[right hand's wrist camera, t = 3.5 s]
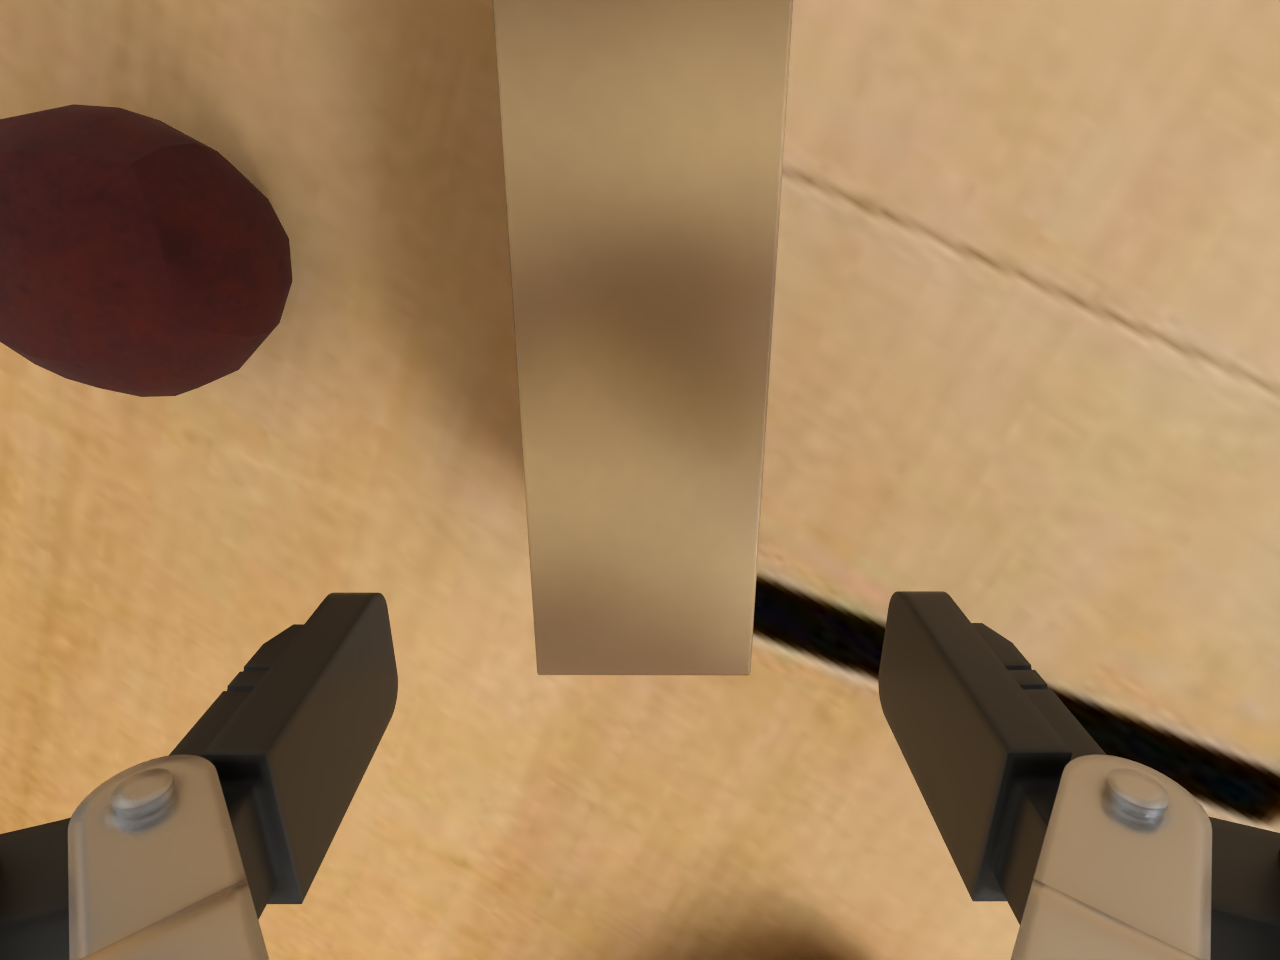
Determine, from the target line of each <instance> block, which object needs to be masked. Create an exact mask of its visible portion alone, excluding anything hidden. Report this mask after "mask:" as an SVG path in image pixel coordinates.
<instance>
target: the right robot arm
mask: <svg viewBox="0 0 1280 960" xmlns="http://www.w3.org/2000/svg"><path fill="white" fill-rule="evenodd" d="M397 691H398V676H397V669H396V662H395V655H394V649H393V642H392V635H391V629H390V622H389V615H388V609H387V604H386V600H385V598H384V596H383V595H382V594H381V593H331V594H329V595H328V596H327V597H326V598H325V599H324V600H323V602H322V603H321V604H320V605H319V607H318V608H317V609H316V610H315V612H314V613H313V614H312V616H311V617H310V618H309V619H308V621H307V622H306V623H305V624H304V625H292V626H291V627H289V628H287V629H286V630H284V631H283V632H281V633H280V634H278V635H277V636H275V637H274V638H272V639H271V640H269V641H267V642H266V643H264V644H263V645H262V646H261V648H260V649H259V650H258V651H257V652H256V653H255V655H254V656H253V657H252V658H251V659H250V661H249V662H248V663H247V664H246V665H245V666H244V671H243V672H239V673H238V675H237V676H236V677H235V678H234V679H233V681H232V682H231V683H230V684H229V685H228V689H227V691H223V692H222V693H221V695H220V696H219V697H218V698H217V699H216V701H215V702H214V703H213V704H212V705H211V706H210V708H209V709H208V710H207V711H206V712H205V713H204V715H203V716H202V717H201V718H200V719H199V721H198V722H197V723H196V724H195V725H194V726H193V728H192V729H191V730H190V731H189V732H188V734H187V735H186V736H185V737H184V738H183V739H182V741H181V742H180V743H179V744H178V745H177V746H176V748H175V749H174V750H173V751H172V752H171V754H170V755H169V756H164V757H160V758H156V759H152V760H149V761H146V762H143V763H140V764H138V765H135V766H133V767H131V768H128V769H126V770H124V771H122V772H120V773H119V774H117V775H115V776H113V777H112V778H110V779H109V780H107V781H105V782H104V783H103V784H101V785H100V786H99V787H97V788H96V789H95V790H94V791H92V792H91V793H90V794H89V795H88V796H87V797H86V798H85V799H84V800H83V801H82V802H81V803H80V805H79V806H78V807H77V809H76V810H75V812H74V813H73V815H72V817H71V818H68V819H64V820H60V821H56V822H52V823H47V824H43V825H39V826H34V827H30V828H26V829H21V830H17V831H13V832H8V833H4V834H0V960H269V957H268V953H267V950H266V946H265V943H264V939H263V935H262V932H261V928H260V925H259V921H258V919H259V918H260V916H261V914H262V912H263V910H264V908H265V906H266V904H302V902H303V900H304V898H305V896H306V894H307V892H308V890H309V888H310V886H311V884H312V881H313V879H314V877H315V875H316V873H317V871H318V869H319V867H320V865H321V863H322V861H323V859H324V857H325V854H326V852H327V850H328V848H329V846H330V844H331V842H332V840H333V838H334V836H335V834H336V832H337V830H338V827H339V825H340V823H341V821H342V819H343V817H344V815H345V813H346V811H347V809H348V807H349V805H350V803H351V800H352V798H353V796H354V794H355V792H356V790H357V788H358V786H359V784H360V782H361V780H362V778H363V775H364V773H365V771H366V769H367V767H368V765H369V763H370V761H371V759H372V757H373V755H374V753H375V751H376V748H377V746H378V744H379V742H380V740H381V738H382V736H383V734H384V732H385V730H386V728H387V726H388V724H389V721H390V719H391V717H392V715H393V712H394V709H395V705H396V699H397ZM879 695H880V701H881V706H882V709H883V713H884V715H885V717H886V719H887V722H888V724H889V726H890V728H891V730H892V732H893V734H894V736H895V738H896V740H897V743H898V745H899V747H900V749H901V751H902V753H903V755H904V757H905V759H906V762H907V764H908V766H909V768H910V770H911V772H912V774H913V776H914V778H915V780H916V783H917V785H918V787H919V789H920V791H921V793H922V795H923V797H924V799H925V801H926V804H927V806H928V808H929V810H930V812H931V814H932V816H933V818H934V820H935V823H936V825H937V827H938V829H939V831H940V833H941V835H942V837H943V839H944V841H945V844H946V846H947V848H948V850H949V852H950V854H951V856H952V858H953V860H954V863H955V865H956V867H957V869H958V871H959V873H960V875H961V877H962V879H963V881H964V884H965V886H966V888H967V890H968V892H969V894H970V896H971V898H972V900H973V901H1008V903H1009V905H1010V907H1011V909H1012V911H1013V913H1014V915H1015V916H1016V918H1017V920H1018V922H1019V924H1020V928H1019V932H1018V935H1017V939H1016V943H1015V946H1014V950H1013V953H1012V957H1011V960H1280V833H1277V832H1272V831H1268V830H1264V829H1259V828H1255V827H1251V826H1246V825H1242V824H1238V823H1233V822H1229V821H1225V820H1220V819H1216V818H1212V817H1208V815H1207V813H1206V812H1205V810H1204V809H1203V807H1202V806H1201V805H1200V803H1199V802H1198V801H1197V800H1196V799H1195V798H1194V797H1193V796H1192V795H1191V794H1190V793H1189V792H1188V791H1186V790H1185V789H1184V788H1183V787H1181V786H1180V785H1179V784H1177V783H1176V782H1175V781H1173V780H1171V779H1170V778H1168V777H1167V776H1165V775H1163V774H1161V773H1160V772H1158V771H1156V770H1154V769H1152V768H1149V767H1147V766H1145V765H1142V764H1140V763H1137V762H1134V761H1131V760H1128V759H1124V758H1120V757H1116V756H1109V755H1106V754H1105V753H1104V751H1103V750H1102V749H1101V748H1100V747H1099V745H1098V744H1097V743H1096V742H1095V741H1094V740H1093V738H1092V737H1091V736H1090V735H1089V734H1088V732H1087V731H1086V730H1085V729H1084V728H1083V726H1082V725H1081V724H1080V723H1079V722H1078V721H1077V719H1076V718H1075V717H1074V716H1073V715H1072V713H1071V712H1070V711H1069V710H1068V709H1067V707H1066V706H1065V705H1064V704H1063V703H1062V702H1061V700H1060V699H1059V698H1058V697H1057V696H1056V694H1055V693H1054V692H1053V691H1052V690H1051V689H1048V688H1047V684H1046V683H1045V681H1044V680H1043V679H1042V678H1041V677H1040V675H1039V674H1038V673H1037V672H1036V671H1035V670H1032V669H1031V665H1030V664H1029V662H1028V661H1027V660H1026V659H1025V658H1024V656H1023V655H1022V654H1021V653H1020V652H1019V650H1018V649H1017V648H1016V647H1015V646H1014V644H1013V643H1012V642H1010V641H1009V640H1007V639H1006V638H1004V637H1002V636H1001V635H999V634H998V633H996V632H995V631H993V630H992V629H990V628H989V627H987V626H986V625H984V624H983V623H971V622H970V621H969V620H968V619H967V617H966V616H965V615H964V613H963V612H962V611H961V610H960V608H959V607H958V606H957V605H956V603H955V602H954V601H953V599H952V598H951V597H950V596H949V595H948V594H947V593H946V592H895V593H894V594H893V595H892V597H891V600H890V603H889V609H888V615H887V622H886V629H885V636H884V642H883V649H882V656H881V663H880V670H879Z"/></svg>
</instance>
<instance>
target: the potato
mask: <svg viewBox="0 0 1280 960" xmlns="http://www.w3.org/2000/svg"><path fill="white" fill-rule="evenodd" d="M291 283H292V271H291V259H290V247H289V238H288V236H287V234H286V233H285V231H284V229H283V227H282V225H281V223H280V221H279V219H278V217H277V215H276V213H275V211H274V209H273V207H272V206H271V204H270V202H269V200H268V199H267V198H266V197H265V196H264V195H263V194H262V193H261V192H260V191H259V190H258V189H257V188H256V187H255V186H254V185H253V184H252V183H251V182H250V181H249V180H247V179H246V178H245V177H244V176H243V175H242V174H241V173H240V172H239V171H238V170H237V169H236V168H235V167H234V166H233V165H232V164H231V163H230V162H229V161H227V160H226V159H225V158H224V157H223V156H222V155H221V154H219V153H218V152H217V151H215V150H213V149H212V148H210V147H208V146H206V145H204V144H202V143H200V142H199V141H197V140H195V139H193V138H191V137H189V136H187V135H185V134H184V133H182V132H180V131H178V130H176V129H174V128H172V127H171V126H169V125H167V124H165V123H163V122H161V121H159V120H156V119H153V118H150V117H147V116H143V115H140V114H137V113H134V112H131V111H128V110H125V109H121V108H115V107H100V106H86V105H69V106H64V107H59V108H54V109H50V110H45V111H40V112H35V113H30V114H25V115H20V116H15V117H10V118H5V119H0V342H2V343H3V344H5V345H6V346H8V347H9V348H11V349H12V350H14V351H16V352H17V353H19V354H20V355H22V356H23V357H25V358H26V359H28V360H29V361H31V362H33V363H34V364H36V365H38V366H40V367H43V368H45V369H47V370H49V371H51V372H54V373H56V374H58V375H60V376H62V377H64V378H67V379H70V380H74V381H77V382H81V383H84V384H87V385H91V386H94V387H98V388H102V389H107V390H112V391H116V392H121V393H126V394H131V395H136V396H141V397H150V396H176V395H179V394H182V393H184V392H187V391H190V390H193V389H196V388H198V387H201V386H203V385H205V384H208V383H210V382H212V381H214V380H217V379H219V378H221V377H223V376H226V375H228V374H230V373H232V372H235V371H237V370H239V369H240V368H241V366H242V365H243V364H244V363H245V362H246V361H247V360H248V358H249V357H250V356H251V355H252V354H253V353H254V351H255V350H256V349H257V348H258V347H259V346H260V345H261V343H262V342H263V341H264V340H265V339H266V338H267V337H268V335H269V334H270V333H271V332H272V331H273V330H274V328H275V327H276V326H277V325H278V324H279V322H280V319H281V316H282V313H283V309H284V306H285V303H286V300H287V296H288V293H289V290H290V287H291Z"/></svg>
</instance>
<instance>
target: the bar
mask: <svg viewBox="0 0 1280 960" xmlns="http://www.w3.org/2000/svg"><path fill="white" fill-rule="evenodd" d="M792 8H793V0H493V10H494V25H495V41H496V56H497V71H498V86H499V101H500V116H501V131H502V146H503V162H504V177H505V192H506V207H507V222H508V237H509V252H510V267H511V282H512V298H513V313H514V328H515V343H516V358H517V373H518V388H519V403H520V418H521V434H522V449H523V464H524V479H525V494H526V509H527V524H528V539H529V555H530V570H531V585H532V600H533V615H534V630H535V645H536V660H537V673H538V674H539V675H749V674H750V669H751V653H752V638H753V622H754V606H755V590H756V575H757V559H758V543H759V527H760V512H761V496H762V480H763V464H764V449H765V433H766V417H767V402H768V386H769V370H770V354H771V339H772V323H773V307H774V291H775V276H776V260H777V244H778V228H779V213H780V197H781V181H782V165H783V150H784V134H785V118H786V103H787V87H788V71H789V55H790V40H791V24H792Z"/></svg>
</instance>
